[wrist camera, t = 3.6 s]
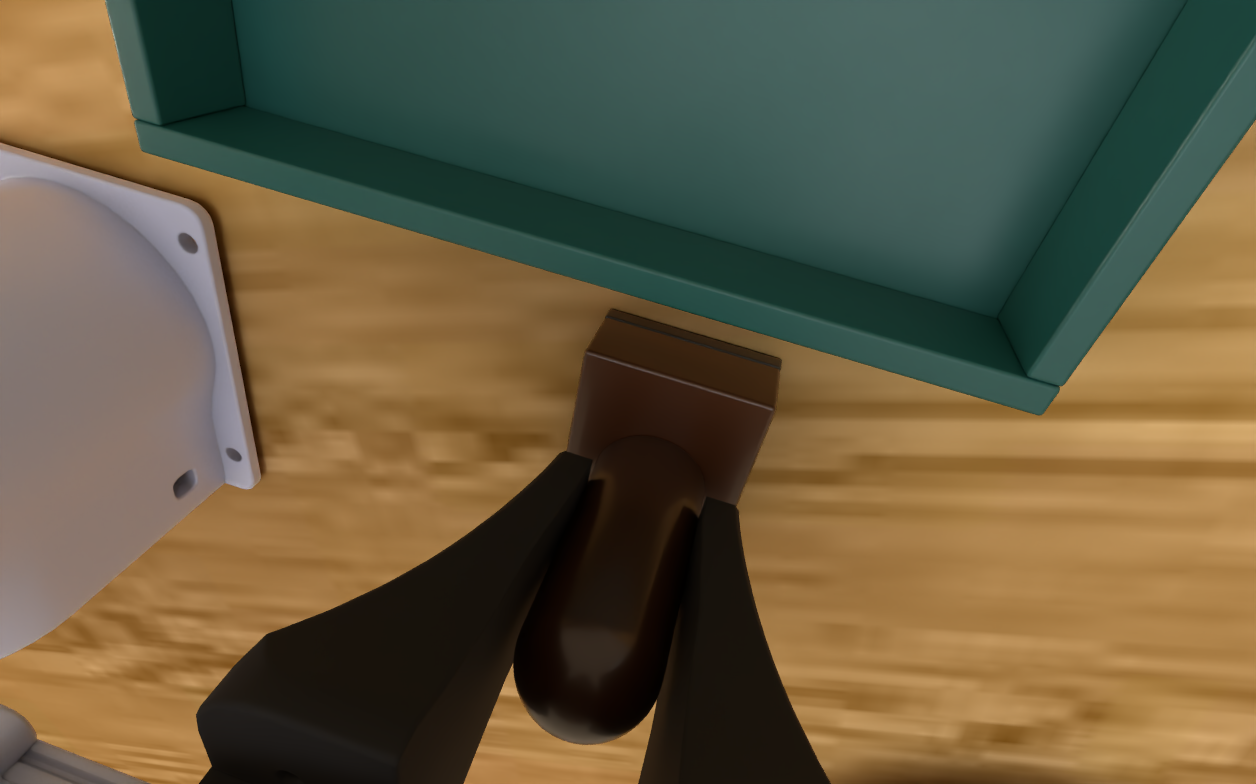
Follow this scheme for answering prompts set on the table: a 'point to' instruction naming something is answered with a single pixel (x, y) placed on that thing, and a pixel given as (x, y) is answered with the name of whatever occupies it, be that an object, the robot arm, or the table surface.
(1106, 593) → the table surface
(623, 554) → the stamp
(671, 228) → the tray
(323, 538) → the table surface
